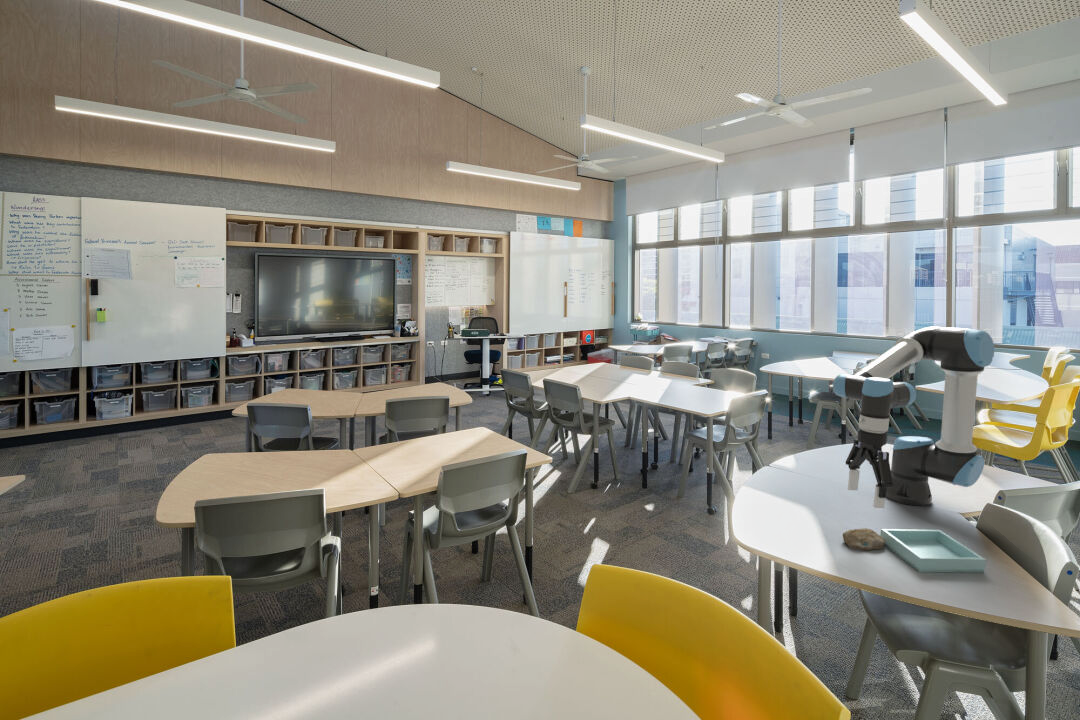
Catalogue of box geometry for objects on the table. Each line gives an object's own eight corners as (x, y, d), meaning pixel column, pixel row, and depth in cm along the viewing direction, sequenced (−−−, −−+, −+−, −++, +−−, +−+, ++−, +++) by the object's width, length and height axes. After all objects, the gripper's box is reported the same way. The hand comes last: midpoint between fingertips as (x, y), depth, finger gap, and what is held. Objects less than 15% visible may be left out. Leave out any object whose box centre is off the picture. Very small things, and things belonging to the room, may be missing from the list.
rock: (837, 541, 171) (838, 527, 170) (868, 538, 173) (869, 524, 172) (856, 553, 163) (857, 539, 163) (888, 549, 165) (889, 536, 165)
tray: (938, 542, 170) (939, 529, 170) (984, 572, 153) (985, 559, 152) (879, 541, 170) (881, 528, 170) (918, 571, 153) (920, 558, 152)
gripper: (837, 419, 176) (831, 482, 179) (886, 441, 151) (877, 515, 154) (861, 419, 175) (854, 483, 179) (913, 442, 151) (904, 515, 154)
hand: (865, 498), depth 166 cm, fingers open, 13 cm apart
